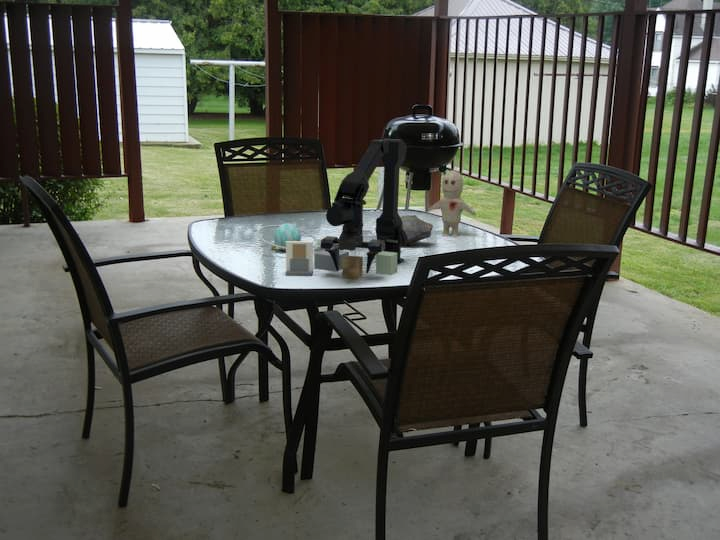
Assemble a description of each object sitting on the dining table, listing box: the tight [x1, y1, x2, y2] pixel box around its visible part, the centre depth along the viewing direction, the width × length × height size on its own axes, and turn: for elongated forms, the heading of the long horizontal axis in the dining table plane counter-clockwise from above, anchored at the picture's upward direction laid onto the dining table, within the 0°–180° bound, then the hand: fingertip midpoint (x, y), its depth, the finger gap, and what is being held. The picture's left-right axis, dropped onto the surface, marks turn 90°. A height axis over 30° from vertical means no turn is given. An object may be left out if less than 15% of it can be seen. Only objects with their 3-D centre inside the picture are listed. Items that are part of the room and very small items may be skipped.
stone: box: [400, 214, 434, 245], centre depth 278 cm, size 18×10×15 cm
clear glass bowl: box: [256, 222, 319, 252], centre depth 265 cm, size 10×20×20 cm
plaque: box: [285, 240, 314, 277], centre depth 234 cm, size 8×5×10 cm, turn 91°
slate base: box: [313, 249, 350, 273], centre depth 243 cm, size 8×8×5 cm
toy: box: [427, 169, 477, 238], centre depth 292 cm, size 18×8×25 cm, turn 65°
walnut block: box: [341, 255, 364, 280], centre depth 232 cm, size 5×5×6 cm
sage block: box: [375, 251, 398, 276], centre depth 238 cm, size 5×5×6 cm
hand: (352, 272), depth 232 cm, fingers open, 9 cm apart
